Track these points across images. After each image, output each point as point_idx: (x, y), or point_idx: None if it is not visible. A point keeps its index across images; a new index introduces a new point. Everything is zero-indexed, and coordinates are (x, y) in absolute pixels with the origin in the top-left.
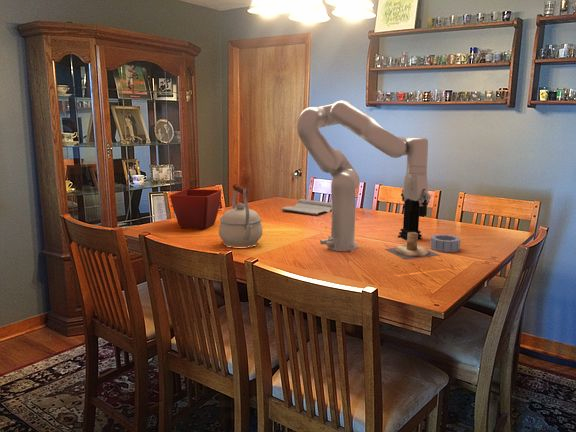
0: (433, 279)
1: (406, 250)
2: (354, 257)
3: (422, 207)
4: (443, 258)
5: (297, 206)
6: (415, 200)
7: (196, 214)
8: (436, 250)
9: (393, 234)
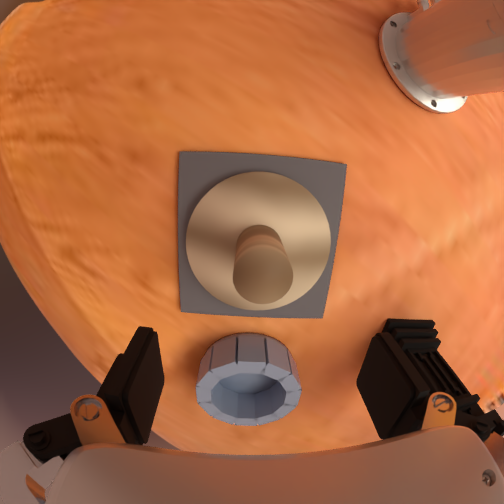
0: (20, 141)
1: (251, 211)
2: (305, 12)
3: (99, 396)
4: (161, 305)
5: None
6: (127, 444)
7: None
8: (236, 337)
9: (453, 324)
